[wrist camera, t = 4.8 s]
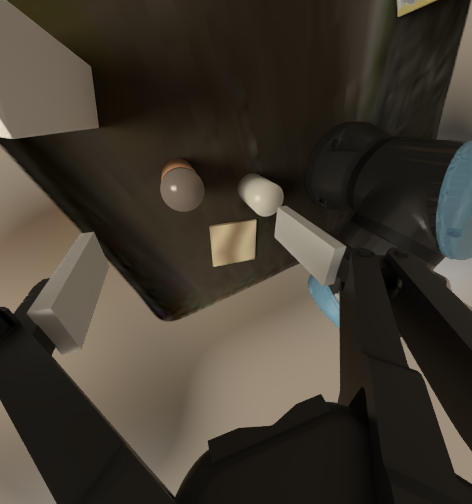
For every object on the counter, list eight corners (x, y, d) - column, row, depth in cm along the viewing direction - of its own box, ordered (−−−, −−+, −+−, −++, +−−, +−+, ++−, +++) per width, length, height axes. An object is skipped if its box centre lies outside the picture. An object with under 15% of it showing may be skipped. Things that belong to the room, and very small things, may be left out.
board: (255, 218, 39) (256, 220, 39) (253, 257, 44) (254, 258, 44) (209, 225, 37) (210, 227, 37) (213, 265, 42) (213, 266, 42)
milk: (99, 128, 26) (-27, 151, 8) (37, 117, 23) (-316, 116, 6) (91, 64, 23) (-139, -117, 5) (19, 45, 20) (-807, -384, 3)
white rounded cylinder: (265, 171, 35) (285, 181, 30) (263, 200, 38) (281, 214, 32) (237, 174, 34) (253, 185, 28) (237, 203, 37) (252, 218, 31)
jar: (193, 156, 30) (202, 166, 24) (197, 191, 33) (206, 208, 27) (157, 158, 29) (155, 170, 23) (164, 194, 32) (165, 214, 26)
